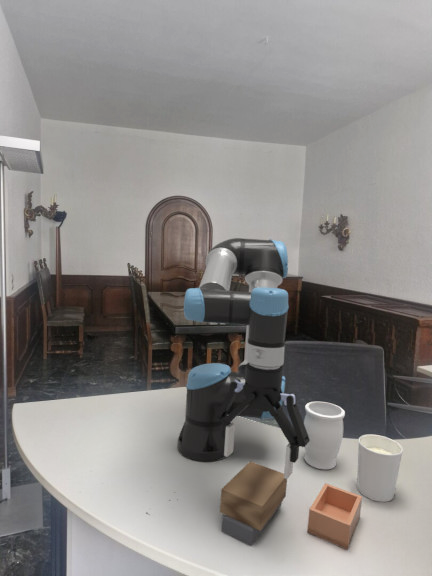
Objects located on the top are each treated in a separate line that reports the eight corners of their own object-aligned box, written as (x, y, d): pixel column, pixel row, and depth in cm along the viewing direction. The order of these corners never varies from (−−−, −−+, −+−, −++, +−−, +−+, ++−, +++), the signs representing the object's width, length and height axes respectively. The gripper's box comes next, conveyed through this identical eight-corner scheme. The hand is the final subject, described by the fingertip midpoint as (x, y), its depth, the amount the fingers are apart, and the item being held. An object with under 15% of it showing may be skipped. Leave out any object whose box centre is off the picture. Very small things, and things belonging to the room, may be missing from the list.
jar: (341, 475, 102) (347, 419, 100) (300, 468, 104) (305, 413, 102) (337, 454, 112) (342, 403, 111) (300, 449, 114) (304, 398, 113)
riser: (221, 531, 79) (222, 517, 79) (254, 493, 92) (255, 481, 92) (251, 545, 76) (252, 531, 76) (281, 504, 89) (282, 492, 89)
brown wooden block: (219, 512, 81) (221, 489, 80) (248, 481, 92) (250, 461, 91) (260, 530, 76) (262, 506, 75) (285, 496, 87) (287, 474, 87)
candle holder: (393, 510, 89) (399, 459, 88) (349, 493, 94) (354, 445, 93) (399, 488, 98) (405, 442, 96) (358, 474, 103) (363, 430, 101)
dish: (307, 532, 81) (309, 509, 80) (323, 503, 90) (325, 483, 89) (347, 549, 77) (350, 525, 76) (359, 518, 86) (362, 496, 85)
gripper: (202, 356, 84) (197, 452, 86) (319, 382, 71) (309, 495, 73) (221, 349, 90) (215, 439, 92) (331, 372, 77) (321, 476, 79)
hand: (257, 464), depth 83 cm, fingers open, 13 cm apart
